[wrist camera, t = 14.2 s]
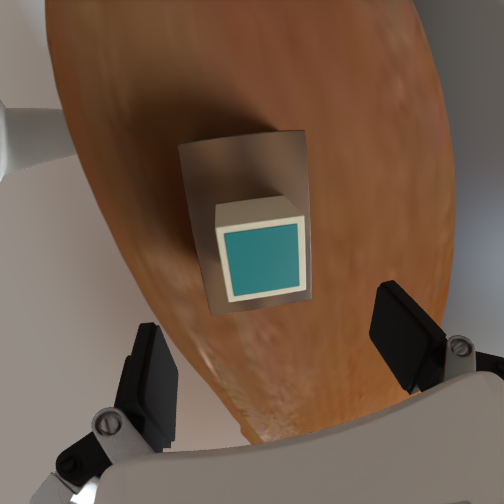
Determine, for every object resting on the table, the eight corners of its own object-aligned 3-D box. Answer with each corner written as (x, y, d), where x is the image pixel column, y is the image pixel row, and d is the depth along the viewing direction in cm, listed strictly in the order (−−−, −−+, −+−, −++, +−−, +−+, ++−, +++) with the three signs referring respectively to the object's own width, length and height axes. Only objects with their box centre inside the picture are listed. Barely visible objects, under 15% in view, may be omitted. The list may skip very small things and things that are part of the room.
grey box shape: (212, 268, 35) (211, 316, 26) (190, 141, 28) (177, 144, 19) (288, 256, 36) (311, 299, 27) (278, 130, 29) (305, 129, 20)
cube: (225, 266, 24) (228, 303, 19) (215, 204, 22) (214, 227, 16) (288, 256, 24) (306, 290, 19) (284, 195, 22) (304, 215, 17)
